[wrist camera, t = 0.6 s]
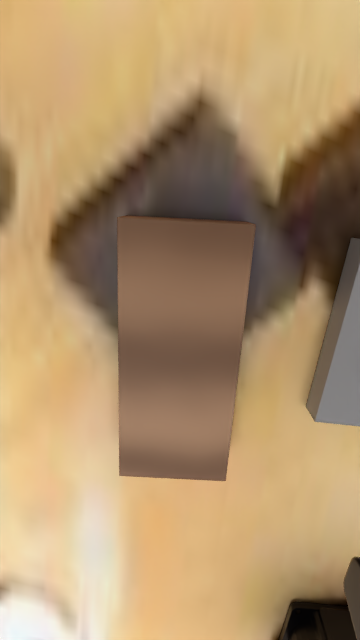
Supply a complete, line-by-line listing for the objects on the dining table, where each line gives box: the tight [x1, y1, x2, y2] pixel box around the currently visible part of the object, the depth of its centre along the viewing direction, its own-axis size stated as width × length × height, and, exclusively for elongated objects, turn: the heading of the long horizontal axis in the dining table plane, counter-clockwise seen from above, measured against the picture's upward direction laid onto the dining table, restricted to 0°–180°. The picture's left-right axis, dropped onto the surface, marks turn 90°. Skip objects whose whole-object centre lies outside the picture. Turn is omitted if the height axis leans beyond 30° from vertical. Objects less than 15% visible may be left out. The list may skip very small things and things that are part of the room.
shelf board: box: [117, 215, 256, 481], centre depth 18 cm, size 14×6×3 cm, turn 177°
